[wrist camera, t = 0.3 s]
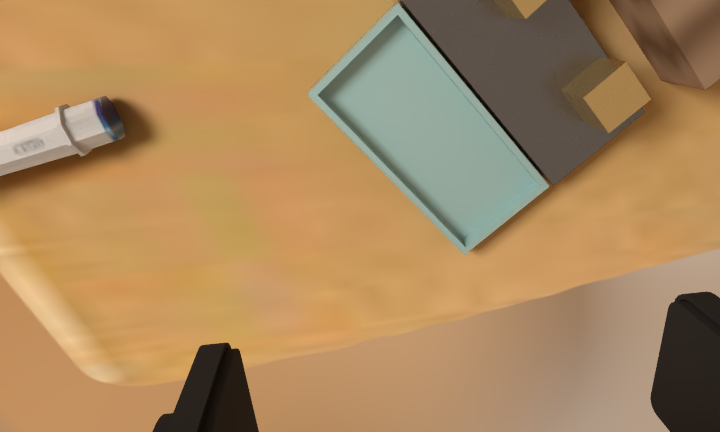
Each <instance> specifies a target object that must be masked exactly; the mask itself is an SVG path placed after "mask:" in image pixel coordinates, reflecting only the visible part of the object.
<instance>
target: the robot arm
mask: <svg viewBox="0 0 720 432" xmlns="http://www.w3.org/2000/svg"><path fill="white" fill-rule="evenodd" d="M651 404H652V407H653V409H654V411H655V413H656V415H657V416H658V417H659V418H660V419H661V421H662V422H663V423H664V425H665V426H666V427H667V428H668V429H669V431H670V432H720V298H719V297H718V296H716V295H715V294H713V293H711V292H699V293H690V294H682V295H679V296H678V297H677V298H676V299H675V302H673V303H671V304H670V305H669V308H668V312H667V317H666V322H665V327H664V333H663V337H662V343H661V347H660V352H659V357H658V362H657V367H656V372H655V377H654V382H653V388H652V392H651ZM153 432H259V431H258V427H257V423H256V419H255V414H254V410H253V405H252V401H251V397H250V393H249V388H248V384H247V380H246V376H245V372H244V367H243V363H242V358H241V354H240V351H239V349H231V346H230V345H229V343H219V344H209V345H202V346H200V348H199V349H198V352H197V354H196V357H195V359H194V362H193V364H192V367H191V370H190V372H189V375H188V377H187V380H186V382H185V385H184V387H183V390H182V392H181V395H180V398H179V400H178V402H177V405H176V408H175V410H174V413H171V414H163V415H162V416H161V417H160V418H159V420H158V421H157V423H156V425H155V428H154V430H153Z"/></svg>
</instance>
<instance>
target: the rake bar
mask: <svg viewBox="0 0 720 432" xmlns="http://www.w3.org/2000/svg"><path fill="white" fill-rule="evenodd" d="M610 2H611V4H612V5H613V7H614V8H615V10H616V11H617V13H618V14H619V16H620V17H621V19H622V20H623V22H624V24H625V25H626V27H627V28H628V30H629V31H630V33H631V34H632V36H633V37H634V39H635V41H636V42H637V44H638V45H639V47H640V48H641V50H642V51H643V53H644V54H645V56H646V58H647V59H648V61H649V62H650V64H651V65H652V67H653V68H654V70H655V71H656V73H657V75H658V76H659V78H660V79H661V80H662V81H667V82H671V83H676V84H680V85H685V86H690V87H694V88H699V89H703V90H706V89H708V88H709V87H710V86H711V85H713V84H714V83H715V82H716V81H718V80H719V79H720V0H610Z"/></svg>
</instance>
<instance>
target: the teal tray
mask: <svg viewBox="0 0 720 432" xmlns="http://www.w3.org/2000/svg"><path fill="white" fill-rule="evenodd" d="M308 96H309V97H310V98H311V99H312V100H313V101H314V102H315V103H316V104H317V105H318V106H319V107H320V108H321V109H322V110H323V111H324V112H325V113H326V114H327V115H328V116H329V117H330V118H331V119H332V120H333V121H334V123H335V124H336V125H337V126H338V127H339V128H340V129H341V130H342V131H343V132H344V133H345V134H346V135H347V136H348V137H349V138H350V139H351V140H352V141H353V142H354V143H355V144H356V145H357V146H358V147H359V148H360V149H361V150H362V151H363V152H364V153H365V154H366V155H367V156H368V157H369V158H370V159H371V160H372V161H373V162H374V163H375V164H376V165H377V166H378V167H379V168H380V169H381V170H382V171H383V172H384V173H385V174H386V176H387V177H388V178H389V179H390V180H391V181H392V182H393V183H394V184H395V185H396V186H397V187H398V188H399V189H400V190H401V191H402V192H403V193H404V194H405V195H406V196H407V197H408V198H409V199H410V200H411V201H412V202H413V203H414V204H415V205H416V206H417V207H418V208H419V209H420V210H421V211H422V212H423V213H424V214H425V215H426V216H427V217H428V218H429V219H430V220H431V221H432V222H433V223H434V224H435V225H436V226H437V227H438V229H439V230H440V231H441V232H442V233H443V234H444V235H445V236H446V237H447V238H448V239H449V240H450V241H451V242H452V243H453V244H454V245H455V246H456V247H457V248H458V249H459V250H460V251H461V252H462V253H463V254H464V255H465V254H466V253H468V252H469V251H470V250H471V249H473V248H474V247H475V246H476V245H478V244H479V243H480V242H481V241H483V240H484V239H485V238H486V237H487V236H489V235H490V234H491V233H492V232H494V231H495V230H496V229H497V228H499V227H500V226H501V225H502V224H504V223H505V222H506V221H507V220H509V219H510V218H511V217H512V216H514V215H515V214H516V213H517V212H519V211H520V210H521V209H522V208H524V207H525V206H526V205H527V204H529V203H530V202H531V201H532V200H533V199H535V198H536V197H537V196H538V195H540V194H541V193H542V192H543V191H545V190H546V189H547V188H548V187H550V186H549V185H548V184H547V182H546V181H545V180H544V179H543V178H542V176H541V175H540V174H539V173H538V171H537V170H536V169H535V168H534V167H533V165H532V164H531V163H530V162H529V161H528V159H527V158H526V157H525V156H524V155H523V153H522V152H521V151H520V150H519V149H518V147H517V146H516V145H515V144H514V142H513V141H512V140H511V139H510V138H509V136H508V135H507V134H506V133H505V132H504V130H503V129H502V128H501V127H500V126H499V124H498V123H497V122H496V121H495V119H494V118H493V117H492V116H491V115H490V113H489V112H488V111H487V110H486V109H485V107H484V106H483V105H482V104H481V103H480V101H479V100H478V99H477V98H476V97H475V95H474V94H473V93H472V92H471V90H470V89H469V88H468V87H467V86H466V84H465V83H464V82H463V81H462V80H461V78H460V77H459V76H458V75H457V74H456V72H455V71H454V70H453V69H452V67H451V66H450V65H449V64H448V63H447V61H446V60H445V59H444V58H443V57H442V55H441V54H440V53H439V52H438V51H437V49H436V48H435V47H434V46H433V45H432V43H431V42H430V41H429V40H428V38H427V37H426V36H425V35H424V34H423V32H422V31H421V30H420V29H419V28H418V26H417V25H416V24H415V23H414V22H413V20H412V19H411V18H410V17H409V15H408V14H407V13H406V12H405V11H404V9H403V8H402V7H401V6H400V5H399V3H396V4H394V5H393V6H392V7H391V8H390V9H389V10H388V11H387V12H386V13H385V14H384V15H383V16H382V17H381V18H380V19H379V20H378V21H377V22H376V23H375V24H374V25H373V26H372V27H371V28H370V29H369V30H368V31H367V32H366V33H365V34H364V36H363V37H362V38H361V39H360V40H359V41H358V42H357V43H356V44H355V45H354V46H353V47H352V48H351V49H350V50H349V51H348V52H347V53H346V54H345V55H344V56H343V57H342V58H341V59H340V60H339V61H338V62H337V63H336V64H335V65H334V66H333V67H332V68H331V69H330V70H329V71H328V72H327V73H326V74H325V75H324V76H323V77H322V78H321V79H320V80H319V81H318V82H317V83H316V84H315V85H314V86H313V87H312V88H311V89H310V90H309V91H308Z"/></svg>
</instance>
